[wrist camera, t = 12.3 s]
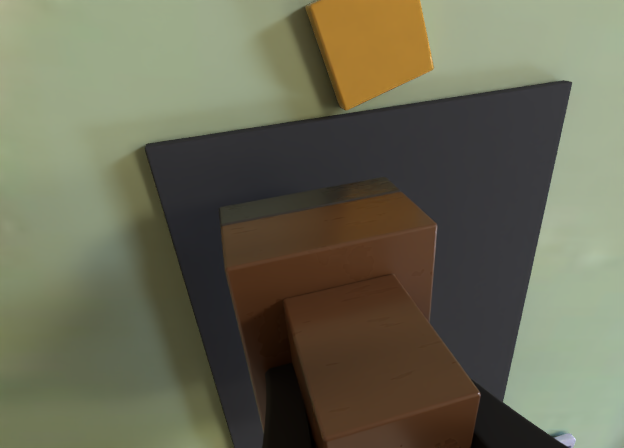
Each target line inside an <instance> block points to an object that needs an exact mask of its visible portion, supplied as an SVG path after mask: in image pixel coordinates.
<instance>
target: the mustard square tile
mask: <svg viewBox="0 0 624 448" xmlns="http://www.w3.org/2000/svg"><path fill="white" fill-rule="evenodd" d="M306 11H307V14H308V17H309V20H310V23H311V26H312V29H313V32H314V35H315V37H316V40H317V43H318V46H319V49H320V52H321V55H322V58H323V60H324V63H325V66H326V69H327V72H328V75H329V78H330V81H331V84H332V86H333V89H334V92H335V95H336V98H337V101H338V104H339V106H340V107H341V108H342V109H344V110H349V109H351V108H353V107H355V106H357V105H359V104H362V103H364V102H366V101H368V100H370V99H372V98H374V97H376V96H379V95H381V94H383V93H385V92H387V91H389V90H391V89H393V88H395V87H398V86H400V85H402V84H404V83H406V82H408V81H410V80H412V79H415V78H417V77H419V76H421V75H423V74H425V73H427V72H429V71H432V70H433V69H434V66H433V61H432V56H431V52H430V47H429V42H428V37H427V32H426V27H425V22H424V18H423V13H422V8H421V3H420V0H316V1H314V2H311V3H309V4H307V5H306Z"/></svg>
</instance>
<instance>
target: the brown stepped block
mask: <svg viewBox="0 0 624 448" xmlns="http://www.w3.org/2000/svg"><path fill="white" fill-rule="evenodd" d="M218 212H219V221H220V228H221V240H222V249H223V259H224V268H225V274H226V278H227V282H228V286H229V290H230V295H231V299H232V303H233V307H234V311H235V316H236V320H237V324H238V328H239V332H240V336H241V341H242V345H243V349H244V353H245V357H246V362H247V366H248V370H249V374H250V378H251V382H252V387H253V391H254V395H255V399H256V403H257V407H258V412H259V416H260V420H261V424H262V428H263V433H264V428H265V414H266V379H265V373H266V371H267V370H268V369H270V368H273V367H277V366H281V365H285V364H289V363H292V364H293V367H294V370H295V374H296V377H297V380H298V384H299V387H300V390H301V394H302V397H303V401H304V404H305V409H306V415H307V421H308V427H309V433H310V439H311V445H312V448H471V443H472V438H473V433H474V427H475V422H476V417H477V412H478V406H479V401H480V396H481V395H480V392H479V390H478V389H477V387H476V386H475V385H474V383H473V382H472V380H471V379H470V378H469V376H468V375H467V374H466V372H465V371H464V370H463V368H462V367H461V365H460V364H459V363H458V361H457V360H456V359H455V357H454V356H453V354H452V353H451V352H450V350H449V349H448V348H447V346H446V345H445V343H444V342H443V341H442V339H441V338H440V337H439V335H438V334H437V332H436V331H435V330H434V328H433V327H432V326H431V324H430V311H431V299H432V287H433V274H434V262H435V250H436V238H437V224H436V223H435V222H434V221H433V220H432V219H431V218H430V217H429V216H428V215H427V214H426V213H424V212H423V211H422V210H421V209H420V208H419V207H418V206H417V205H416V204H415V203H414V202H412V201H411V200H410V199H409V198H408V197H407V196H406V195H405V194H404V193H403V192H401V191H400V189H398V188H397V187H396V186H395V185H394V184H393V183H392V182H391V181H390V180H389V179H388V178H386V177H380V178H375V179H369V180H364V181H359V182H353V183H348V184H343V185H337V186H332V187H326V188H321V189H316V190H310V191H305V192H299V193H294V194H289V195H283V196H278V197H272V198H267V199H262V200H256V201H251V202H245V203H240V204H235V205H229V206H224V207H220V208H219V210H218Z"/></svg>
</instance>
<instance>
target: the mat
mask: <svg viewBox="0 0 624 448" xmlns="http://www.w3.org/2000/svg"><path fill="white" fill-rule="evenodd" d="M571 86H572V82H569V81H564V80H563V81H557V82H550V83H544V84H537V85H531V86H524V87H517V88H511V89H504V90H498V91H491V92H485V93H478V94H471V95H465V96H458V97H452V98H445V99H439V100H432V101H425V102H419V103H412V104H406V105H399V106H393V107H386V108H379V109H373V110H366V111H360V112H353V113H347V114H340V115H333V116H327V117H320V118H314V119H307V120H301V121H294V122H287V123H281V124H274V125H268V126H261V127H254V128H248V129H241V130H235V131H228V132H222V133H215V134H208V135H202V136H195V137H189V138H182V139H176V140H169V141H162V142H156V143H149V144H146V146H145V151H146V154H147V158H148V161H149V164H150V168H151V171H152V174H153V178H154V181H155V184H156V188H157V191H158V194H159V198H160V201H161V204H162V208H163V211H164V214H165V218H166V221H167V224H168V228H169V231H170V234H171V238H172V241H173V244H174V248H175V251H176V254H177V258H178V261H179V264H180V268H181V271H182V275H183V278H184V281H185V285H186V288H187V291H188V295H189V298H190V301H191V305H192V308H193V311H194V315H195V318H196V321H197V325H198V328H199V331H200V335H201V338H202V341H203V345H204V348H205V351H206V355H207V358H208V361H209V365H210V368H211V371H212V375H213V378H214V381H215V385H216V388H217V391H218V395H219V398H220V401H221V405H222V408H223V411H224V415H225V418H226V421H227V425H228V428H229V431H230V435H231V438H232V441H233V445H234V448H262V445H263V436H264V433H263V428H262V424H261V420H260V416H259V412H258V407H257V403H256V399H255V395H254V391H253V387H252V382H251V378H250V374H249V370H248V366H247V362H246V357H245V353H244V349H243V345H242V341H241V336H240V332H239V328H238V324H237V320H236V316H235V311H234V307H233V303H232V299H231V295H230V290H229V286H228V282H227V278H226V274H225V268H224V259H223V249H222V240H221V228H220V221H219V212H218V210H219V208H220V207H224V206H229V205H235V204H240V203H245V202H251V201H256V200H262V199H267V198H272V197H278V196H283V195H289V194H294V193H299V192H305V191H310V190H316V189H321V188H326V187H332V186H337V185H343V184H348V183H353V182H359V181H364V180H369V179H375V178H380V177H386V178H388V179H389V180H390V181H391V182H392V183H393V184H394V185H395V186H396V187H397V188H398V189H400V191H401V192H403V193H404V194H405V195H406V196H407V197H408V198H409V199H410V200H411V201H412V202H414V203H415V204H416V205H417V206H418V207H419V208H420V209H421V210H422V211H423V212H424V213H426V214H427V215H428V216H429V217H430V218H431V219H432V220H433V221H434V222H435V223H436V224H437V238H436V250H435V262H434V274H433V287H432V299H431V311H430V324H431V326H432V327H433V328H434V330H435V331H436V332H437V334H438V335H439V337H440V338H441V339H442V341H443V342H444V343H445V345H446V346H447V348H448V349H449V350H450V352H451V353H452V354H453V356H454V357H455V359H456V360H457V361H458V363H459V364H460V365H461V367H462V368H463V370H464V371H465V372H466V374H467V375H468V376H469V377H471V378H472V379H473V380H474V381H476V382H477V383H478V384H480V385H481V386H482V387H483V388H485V389H486V390H487V391H489V392H490V393H491V394H493V395H494V396H495V397H497V398H498V399H499V400H501V401H502V402H503V399H504V395H505V390H506V385H507V381H508V376H509V371H510V367H511V362H512V358H513V353H514V348H515V344H516V339H517V335H518V330H519V325H520V321H521V316H522V312H523V307H524V302H525V298H526V293H527V289H528V284H529V279H530V275H531V270H532V266H533V261H534V256H535V252H536V247H537V242H538V238H539V233H540V229H541V224H542V219H543V215H544V210H545V206H546V201H547V196H548V192H549V187H550V183H551V178H552V173H553V169H554V164H555V160H556V155H557V150H558V146H559V141H560V137H561V132H562V127H563V123H564V118H565V113H566V109H567V104H568V100H569V95H570V90H571Z"/></svg>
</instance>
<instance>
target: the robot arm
mask: <svg viewBox="0 0 624 448" xmlns="http://www.w3.org/2000/svg"><path fill="white" fill-rule="evenodd" d="M469 378H470V379H471V380H472V382H473V383H474V385H475V386H476V387H477V389H478V390H479V392H480V395H481V396H480V401H479V406H478V412H477V417H476V422H475V427H474V433H473V438H472V443H471V448H573V446H574V444H575V438H574V437H573V436H572V434H570V433H566V434H563V435H560V436H557V437H554V438H553V437H552V436H550V435H549V434H547V433H546V432H544V431H543V430H541V429H540V428H538V427H537V426H536V425H534V424H533V423H531V422H530V421H528V420H527V419H526V418H524V417H523V416H521V415H520V414H518V413H517V412H516V411H514V410H513V409H511V408H510V407H509V406H507V405H506V404H505V403H503V402H502V401H501V400H499V399H498V398H497V397H495V396H494V395H493V394H491V393H490V392H489V391H487V390H486V389H485V388H483V387H482V386H481V385H480V384H478V383H477V382H476V381H474V380H473V379H472V378H471V377H469ZM265 379H266V414H265V428H264V436H263V445H262V448H312V445H311V439H310V433H309V427H308V421H307V415H306V409H305V404H304V401H303V397H302V394H301V390H300V387H299V384H298V380H297V377H296V374H295V370H294V367H293V364H292V363H289V364H285V365H281V366H277V367H273V368H270V369H268V370H267V371H266V373H265Z"/></svg>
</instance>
